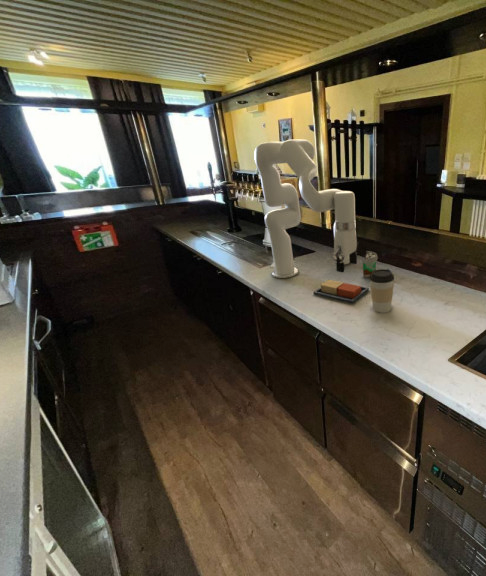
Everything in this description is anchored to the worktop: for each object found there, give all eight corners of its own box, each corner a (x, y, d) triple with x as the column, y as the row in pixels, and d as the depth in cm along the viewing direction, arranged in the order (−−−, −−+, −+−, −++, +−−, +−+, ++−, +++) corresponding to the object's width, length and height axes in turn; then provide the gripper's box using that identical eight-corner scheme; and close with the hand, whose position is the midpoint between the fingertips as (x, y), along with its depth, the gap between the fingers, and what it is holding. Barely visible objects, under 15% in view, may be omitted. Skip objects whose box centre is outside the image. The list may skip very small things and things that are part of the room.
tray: (313, 295, 128) (313, 291, 127) (331, 283, 138) (331, 280, 137) (352, 304, 118) (352, 301, 118) (368, 291, 129) (368, 287, 128)
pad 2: (337, 295, 126) (337, 288, 124) (345, 289, 130) (344, 282, 129) (354, 299, 122) (353, 292, 121) (361, 293, 127) (361, 286, 125)
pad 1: (321, 291, 130) (320, 284, 129) (328, 286, 134) (328, 279, 133) (336, 295, 126) (335, 288, 125) (344, 289, 131) (343, 282, 129)
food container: (376, 279, 140) (375, 259, 136) (363, 279, 141) (362, 259, 137) (379, 270, 151) (379, 250, 146) (367, 269, 152) (366, 250, 148)
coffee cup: (378, 316, 110) (377, 278, 103) (365, 306, 117) (364, 270, 111) (398, 309, 113) (399, 272, 107) (385, 300, 121) (385, 265, 114)
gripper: (348, 219, 122) (350, 259, 130) (324, 229, 109) (327, 273, 117) (365, 221, 119) (365, 262, 126) (341, 232, 106) (343, 276, 113)
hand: (347, 267), depth 121 cm, fingers open, 9 cm apart
